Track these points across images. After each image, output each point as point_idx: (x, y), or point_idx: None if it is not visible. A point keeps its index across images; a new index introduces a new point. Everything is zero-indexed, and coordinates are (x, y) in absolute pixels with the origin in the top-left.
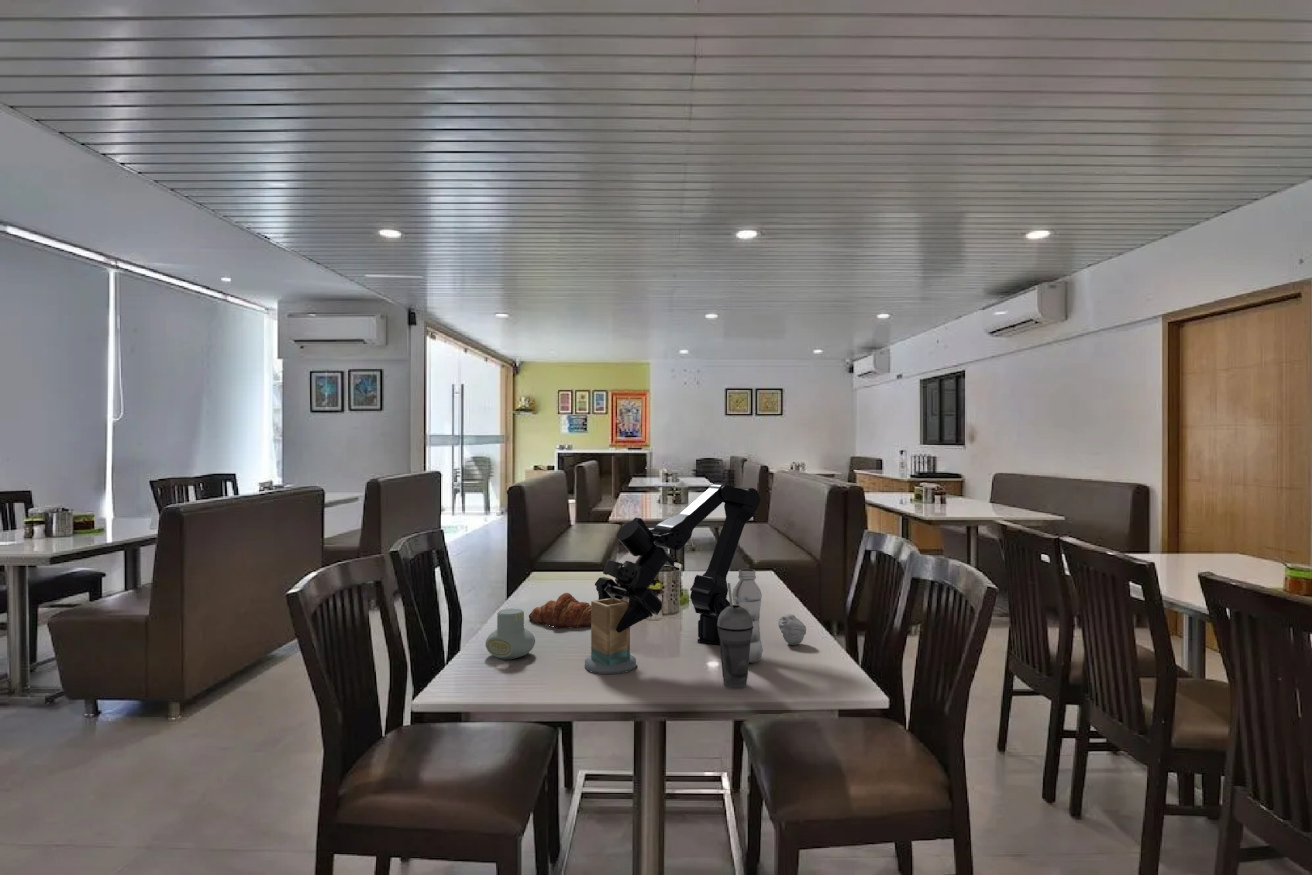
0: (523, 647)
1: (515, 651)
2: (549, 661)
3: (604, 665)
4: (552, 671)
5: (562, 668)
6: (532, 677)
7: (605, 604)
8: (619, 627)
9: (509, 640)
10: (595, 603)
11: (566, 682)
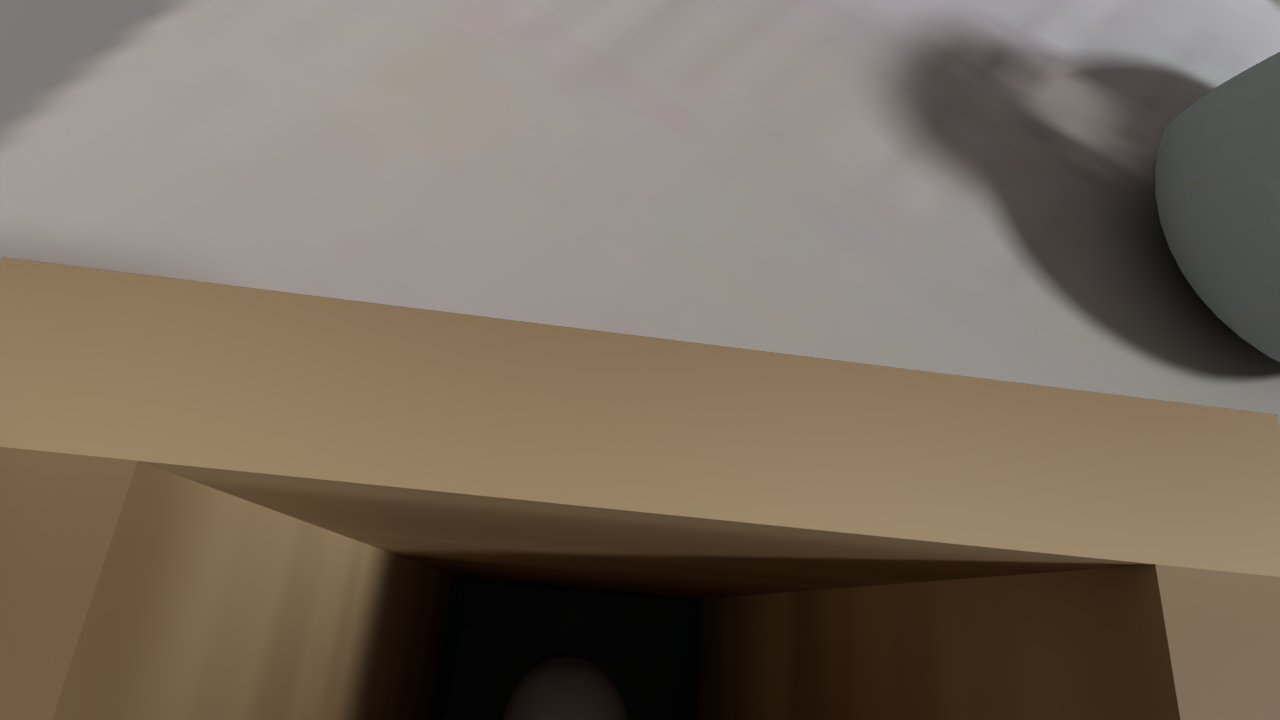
0: (1187, 186)
1: (1166, 144)
2: (996, 367)
3: None
4: (773, 248)
5: (786, 337)
6: (752, 96)
7: (348, 475)
8: None
9: (1275, 62)
10: (943, 392)
11: (503, 177)
